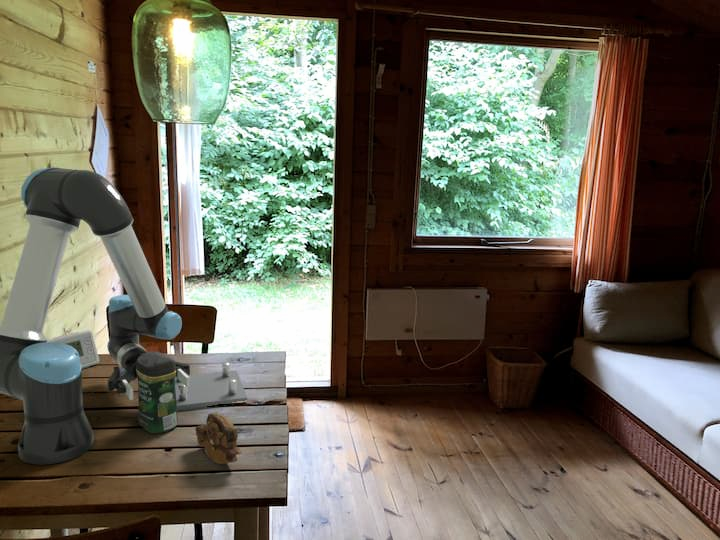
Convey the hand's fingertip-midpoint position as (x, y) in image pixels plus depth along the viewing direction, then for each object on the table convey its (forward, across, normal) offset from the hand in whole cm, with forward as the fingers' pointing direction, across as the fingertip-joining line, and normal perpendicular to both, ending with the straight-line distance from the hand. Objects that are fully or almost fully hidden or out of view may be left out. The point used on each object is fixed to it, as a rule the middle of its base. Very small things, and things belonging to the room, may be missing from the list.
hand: (160, 388), depth 138 cm
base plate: (-14, -17, -10) cm, 25 cm away
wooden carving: (+21, -6, -11) cm, 24 cm away
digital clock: (-51, +11, -11) cm, 53 cm away
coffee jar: (-2, 0, -11) cm, 11 cm away
